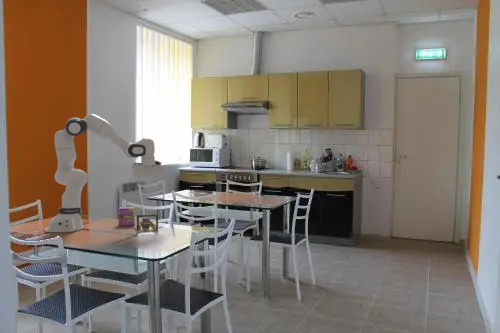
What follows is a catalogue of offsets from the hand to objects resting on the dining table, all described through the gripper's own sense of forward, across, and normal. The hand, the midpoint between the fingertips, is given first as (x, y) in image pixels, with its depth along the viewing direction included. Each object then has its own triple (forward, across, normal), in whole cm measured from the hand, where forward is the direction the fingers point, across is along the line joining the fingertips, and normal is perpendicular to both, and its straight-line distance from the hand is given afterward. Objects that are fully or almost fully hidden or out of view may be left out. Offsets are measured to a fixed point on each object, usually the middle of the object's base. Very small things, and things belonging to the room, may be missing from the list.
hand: (147, 182), depth 294 cm
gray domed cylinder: (+28, -3, -12) cm, 30 cm away
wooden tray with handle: (+29, -3, -12) cm, 32 cm away
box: (+29, -13, +8) cm, 33 cm away
